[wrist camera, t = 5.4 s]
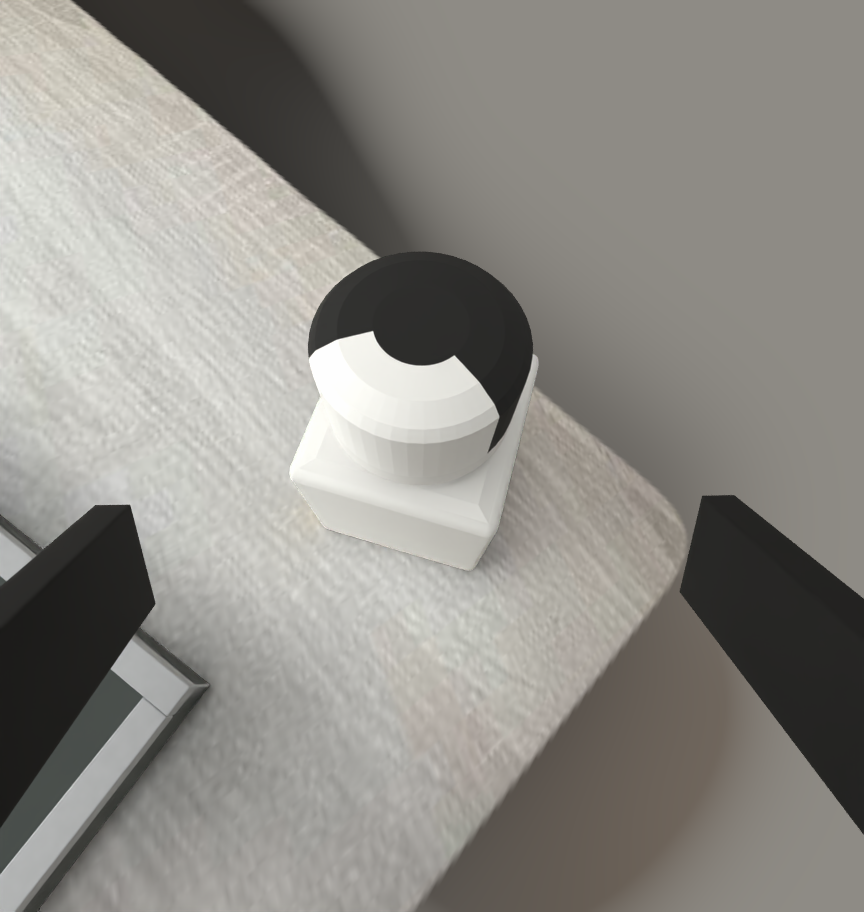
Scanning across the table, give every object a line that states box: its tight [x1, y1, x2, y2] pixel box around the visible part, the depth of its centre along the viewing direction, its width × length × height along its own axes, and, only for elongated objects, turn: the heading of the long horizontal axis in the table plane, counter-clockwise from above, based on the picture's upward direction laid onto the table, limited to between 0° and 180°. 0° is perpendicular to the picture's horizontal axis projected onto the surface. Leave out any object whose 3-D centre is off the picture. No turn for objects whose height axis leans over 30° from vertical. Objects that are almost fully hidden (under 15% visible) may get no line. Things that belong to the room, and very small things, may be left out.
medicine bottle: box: [289, 252, 539, 571], centre depth 19 cm, size 7×7×12 cm
